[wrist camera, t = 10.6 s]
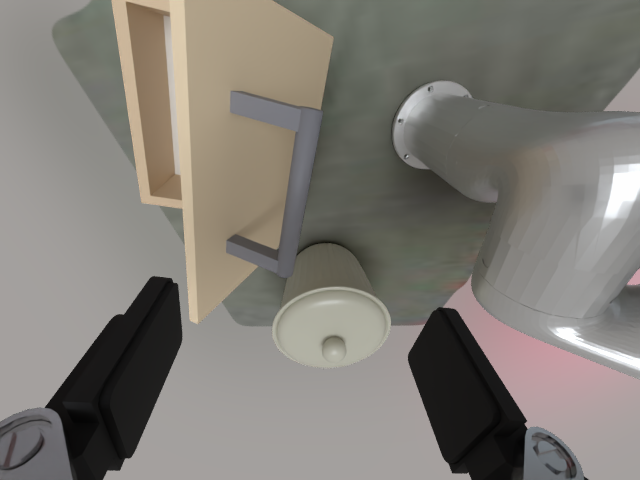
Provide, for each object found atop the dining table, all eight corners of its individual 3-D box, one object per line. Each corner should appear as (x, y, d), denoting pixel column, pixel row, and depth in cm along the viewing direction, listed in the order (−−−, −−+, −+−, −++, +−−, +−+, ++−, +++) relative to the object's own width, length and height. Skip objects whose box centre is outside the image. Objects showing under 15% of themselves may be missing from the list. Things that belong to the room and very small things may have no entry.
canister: (259, 260, 54) (240, 355, 37) (335, 209, 49) (356, 290, 32) (314, 311, 63) (320, 408, 45) (384, 271, 58) (422, 363, 40)
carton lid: (326, 35, 28) (389, 48, 27) (294, 225, 39) (337, 240, 38) (165, -57, 11) (313, -35, 10) (189, 320, 22) (260, 354, 21)
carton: (320, 42, 36) (326, 35, 28) (295, 196, 48) (294, 224, 39) (157, 2, 33) (108, -20, 25) (171, 176, 45) (141, 202, 36)
